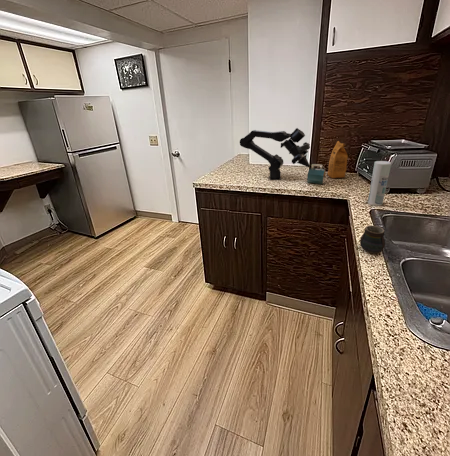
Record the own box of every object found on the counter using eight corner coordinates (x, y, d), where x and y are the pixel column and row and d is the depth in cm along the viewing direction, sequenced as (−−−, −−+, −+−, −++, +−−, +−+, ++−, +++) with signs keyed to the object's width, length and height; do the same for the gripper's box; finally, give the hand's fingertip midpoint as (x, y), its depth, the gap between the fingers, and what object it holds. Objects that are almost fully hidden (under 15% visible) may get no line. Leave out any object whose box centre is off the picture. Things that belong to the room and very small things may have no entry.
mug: (324, 181, 153) (326, 163, 149) (322, 185, 147) (324, 166, 142) (309, 180, 158) (311, 162, 153) (306, 183, 151) (308, 165, 147)
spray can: (372, 199, 123) (380, 160, 115) (385, 204, 118) (394, 162, 110) (364, 202, 120) (371, 162, 113) (377, 207, 115) (385, 164, 107)
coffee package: (341, 173, 167) (345, 140, 159) (346, 178, 156) (351, 143, 147) (325, 173, 169) (329, 140, 160) (329, 178, 158) (333, 144, 149)
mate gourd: (387, 250, 83) (393, 224, 79) (376, 259, 79) (382, 231, 75) (365, 241, 88) (370, 216, 85) (354, 249, 84) (358, 223, 81)
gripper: (298, 141, 139) (316, 161, 138) (305, 136, 154) (322, 154, 153) (284, 154, 146) (301, 173, 145) (292, 148, 161) (308, 166, 160)
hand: (309, 166), depth 151 cm, fingers closed
